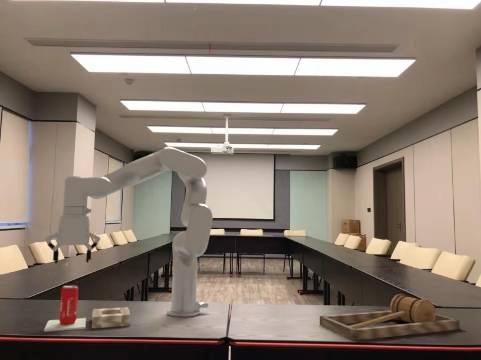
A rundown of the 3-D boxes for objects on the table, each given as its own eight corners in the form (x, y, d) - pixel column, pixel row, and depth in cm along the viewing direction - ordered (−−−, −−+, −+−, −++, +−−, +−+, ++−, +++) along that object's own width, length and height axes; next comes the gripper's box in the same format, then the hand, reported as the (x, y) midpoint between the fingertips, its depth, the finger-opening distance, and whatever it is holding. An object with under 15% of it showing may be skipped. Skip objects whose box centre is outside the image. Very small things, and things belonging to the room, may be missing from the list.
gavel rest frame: (416, 316, 149) (416, 308, 149) (459, 329, 131) (459, 320, 131) (319, 324, 133) (319, 316, 133) (354, 340, 115) (354, 330, 115)
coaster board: (86, 319, 132) (86, 318, 132) (85, 328, 121) (85, 326, 121) (48, 322, 128) (48, 320, 128) (43, 331, 117) (44, 329, 117)
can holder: (127, 317, 137) (127, 307, 138) (130, 325, 126) (130, 314, 127) (92, 319, 133) (92, 309, 133) (91, 328, 122) (92, 317, 122)
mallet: (331, 341, 129) (328, 311, 130) (410, 317, 144) (407, 291, 145) (355, 352, 118) (351, 320, 118) (438, 325, 133) (434, 297, 134)
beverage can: (69, 325, 122) (72, 288, 123) (55, 324, 123) (58, 287, 124) (79, 321, 127) (81, 285, 128) (65, 320, 128) (68, 284, 129)
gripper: (101, 212, 136) (99, 260, 134) (48, 211, 130) (45, 262, 128) (101, 212, 129) (99, 262, 127) (45, 211, 123) (42, 264, 121)
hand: (72, 262), depth 127 cm, fingers open, 9 cm apart
